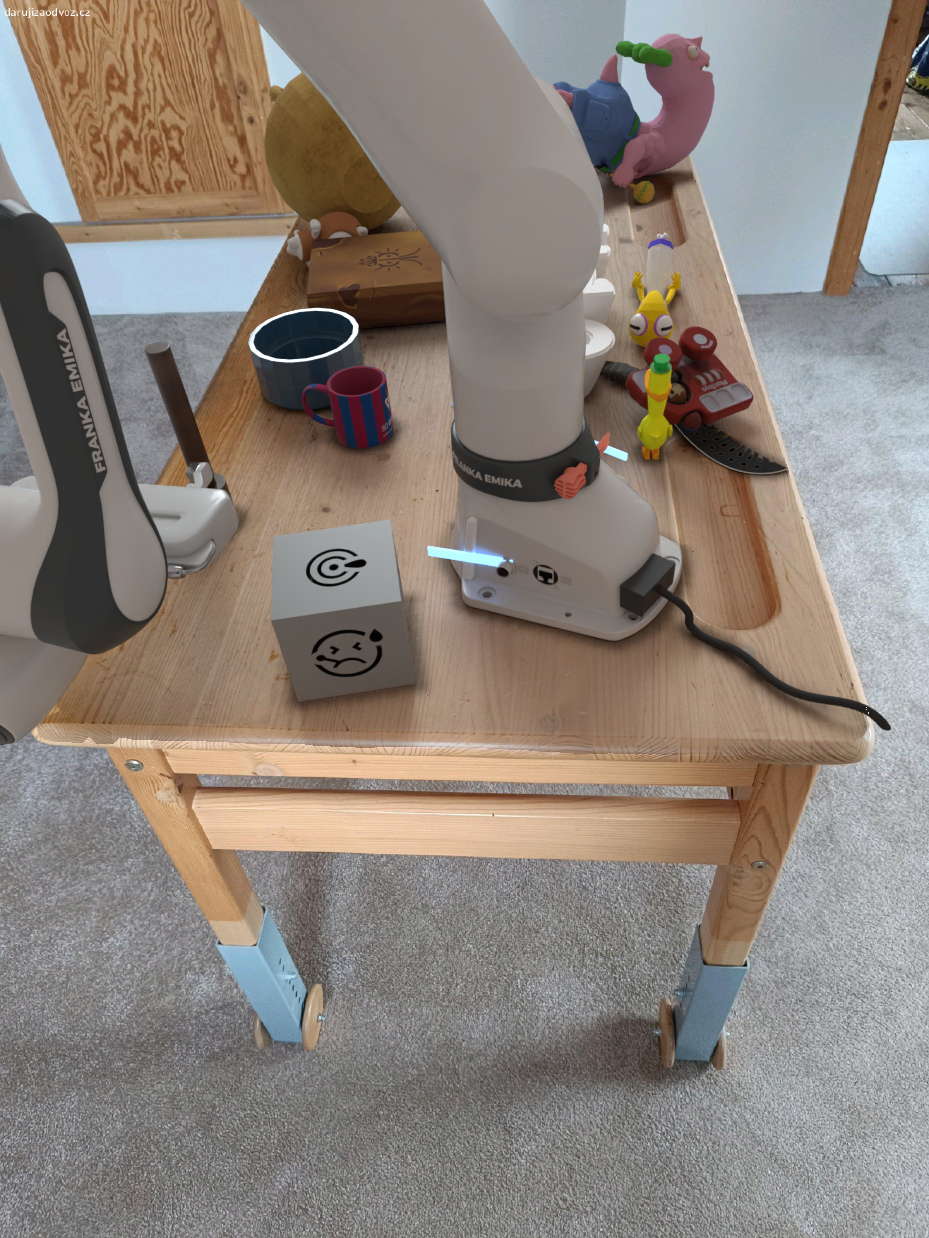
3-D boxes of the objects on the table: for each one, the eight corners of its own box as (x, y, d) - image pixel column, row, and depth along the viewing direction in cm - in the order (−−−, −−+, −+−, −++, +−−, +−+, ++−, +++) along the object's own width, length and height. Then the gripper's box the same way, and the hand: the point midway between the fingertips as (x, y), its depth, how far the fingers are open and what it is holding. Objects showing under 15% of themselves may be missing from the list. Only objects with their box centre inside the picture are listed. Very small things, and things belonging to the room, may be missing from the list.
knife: (753, 495, 88) (788, 474, 89) (756, 481, 86) (791, 461, 88) (583, 378, 104) (615, 363, 105) (583, 366, 103) (615, 350, 104)
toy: (543, -3, 139) (701, 38, 148) (510, 159, 152) (656, 187, 162) (596, 5, 120) (772, 51, 129) (553, 189, 134) (714, 219, 143)
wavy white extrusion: (502, 284, 123) (500, 209, 115) (617, 284, 121) (622, 207, 113) (468, 418, 99) (462, 334, 92) (610, 421, 97) (615, 335, 89)
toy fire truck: (627, 345, 90) (684, 412, 87) (712, 317, 95) (771, 380, 91) (607, 392, 96) (661, 457, 93) (689, 364, 101) (743, 424, 97)
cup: (385, 451, 96) (376, 398, 91) (302, 445, 98) (290, 393, 93) (400, 418, 100) (392, 366, 96) (321, 414, 102) (309, 363, 97)
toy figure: (631, 436, 95) (639, 337, 86) (663, 435, 94) (675, 335, 86) (637, 472, 90) (647, 371, 81) (671, 471, 90) (684, 369, 81)
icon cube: (404, 602, 79) (390, 519, 71) (415, 683, 72) (401, 600, 65) (297, 618, 78) (273, 536, 71) (298, 701, 71) (270, 620, 64)
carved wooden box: (314, 337, 116) (305, 296, 112) (319, 278, 129) (311, 240, 125) (480, 320, 116) (478, 278, 112) (468, 263, 129) (466, 224, 125)
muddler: (246, 517, 89) (189, 342, 75) (219, 539, 87) (155, 363, 73) (219, 506, 91) (158, 332, 77) (192, 527, 89) (124, 352, 74)
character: (686, 227, 114) (683, 276, 99) (678, 302, 120) (673, 358, 105) (639, 226, 115) (628, 274, 100) (633, 300, 121) (622, 356, 106)
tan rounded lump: (353, 54, 113) (291, -3, 131) (259, 209, 122) (213, 135, 140) (472, 161, 130) (402, 97, 147) (381, 290, 139) (326, 215, 157)
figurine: (300, 254, 121) (378, 243, 125) (281, 203, 123) (359, 194, 127) (296, 296, 129) (369, 285, 133) (279, 247, 131) (352, 238, 135)
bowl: (388, 373, 108) (380, 321, 103) (320, 425, 101) (308, 372, 96) (309, 350, 114) (298, 300, 109) (240, 397, 106) (225, 346, 101)
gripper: (185, 548, 63) (253, 442, 72) (-51, 528, 67) (42, 429, 76) (210, 608, 67) (271, 500, 76) (-13, 585, 71) (71, 485, 80)
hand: (155, 465), depth 76 cm, fingers open, 8 cm apart
